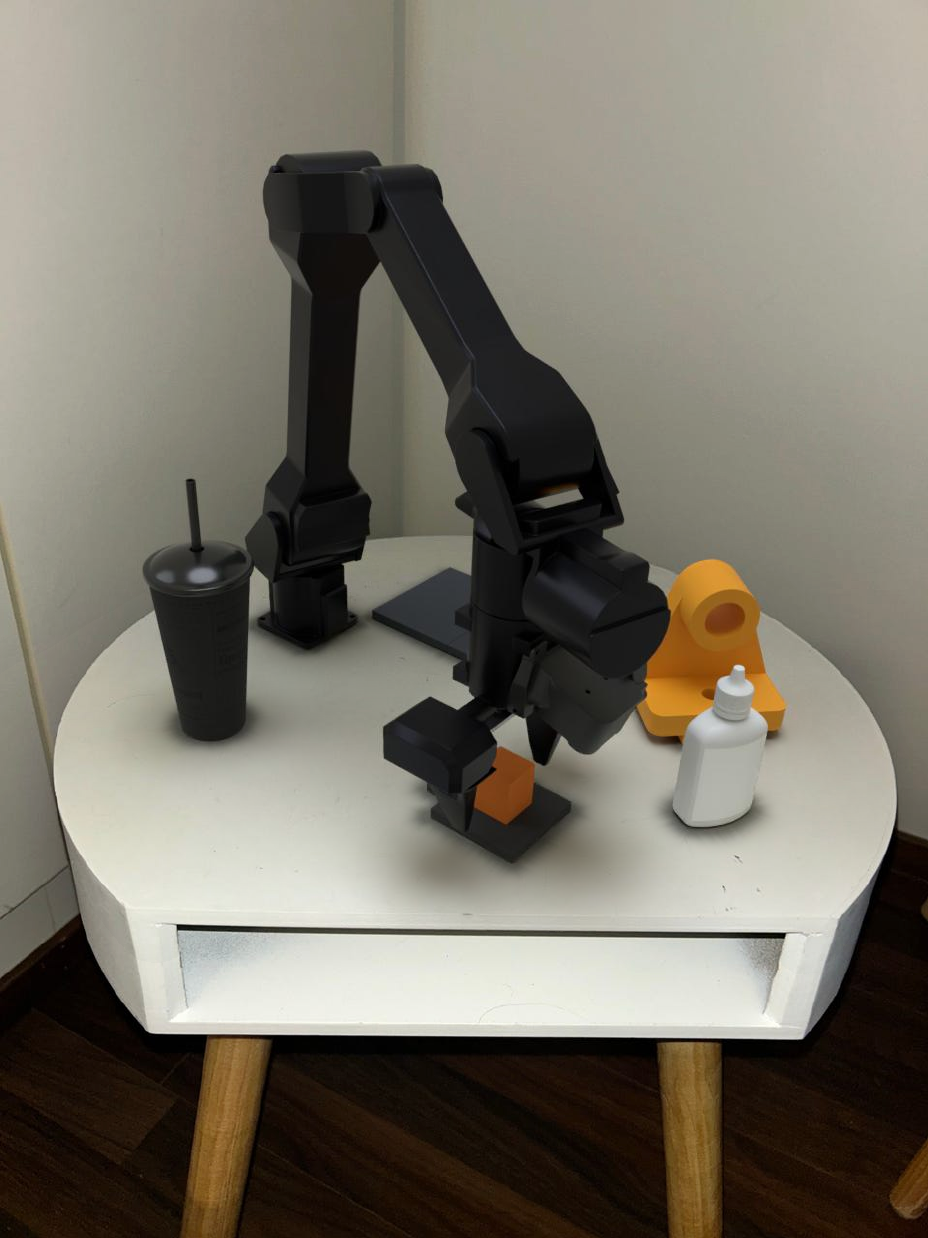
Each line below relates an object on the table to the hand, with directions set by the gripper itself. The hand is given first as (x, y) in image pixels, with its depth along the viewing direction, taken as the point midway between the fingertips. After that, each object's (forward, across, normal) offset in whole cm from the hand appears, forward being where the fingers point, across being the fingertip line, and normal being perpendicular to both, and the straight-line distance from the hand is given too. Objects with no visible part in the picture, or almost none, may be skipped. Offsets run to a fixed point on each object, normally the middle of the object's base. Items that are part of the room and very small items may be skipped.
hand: (502, 794), depth 76 cm
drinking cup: (+2, -6, +23) cm, 24 cm away
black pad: (+2, 0, 0) cm, 2 cm away
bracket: (+2, +20, -5) cm, 21 cm away
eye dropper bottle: (+2, +10, -11) cm, 15 cm away
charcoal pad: (+2, +19, +19) cm, 27 cm away
